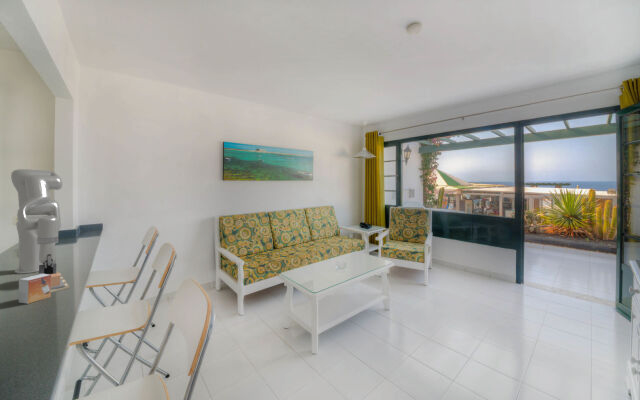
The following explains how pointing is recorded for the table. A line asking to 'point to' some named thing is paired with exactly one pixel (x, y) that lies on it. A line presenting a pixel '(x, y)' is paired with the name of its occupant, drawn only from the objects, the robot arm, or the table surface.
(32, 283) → the small box
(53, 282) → the cube
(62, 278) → the board
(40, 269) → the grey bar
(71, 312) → the table surface
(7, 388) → the table surface
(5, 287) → the table surface
